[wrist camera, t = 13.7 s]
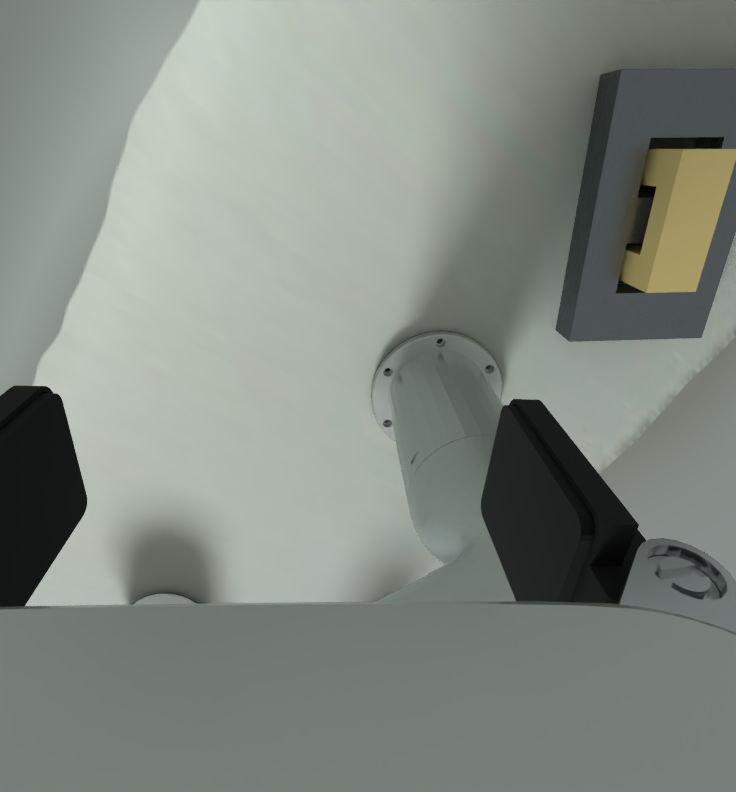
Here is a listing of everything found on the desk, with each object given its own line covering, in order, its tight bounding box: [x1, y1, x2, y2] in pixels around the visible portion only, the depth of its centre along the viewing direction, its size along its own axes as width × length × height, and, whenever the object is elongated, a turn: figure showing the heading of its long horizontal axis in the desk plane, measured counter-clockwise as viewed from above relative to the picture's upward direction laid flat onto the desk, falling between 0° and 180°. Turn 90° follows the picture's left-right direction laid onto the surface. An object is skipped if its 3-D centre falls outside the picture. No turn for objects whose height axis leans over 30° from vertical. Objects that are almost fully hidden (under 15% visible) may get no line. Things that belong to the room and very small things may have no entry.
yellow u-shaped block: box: [619, 148, 736, 293], centre depth 39 cm, size 10×4×6 cm, turn 0°
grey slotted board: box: [556, 69, 736, 342], centre depth 40 cm, size 20×12×3 cm, turn 0°
